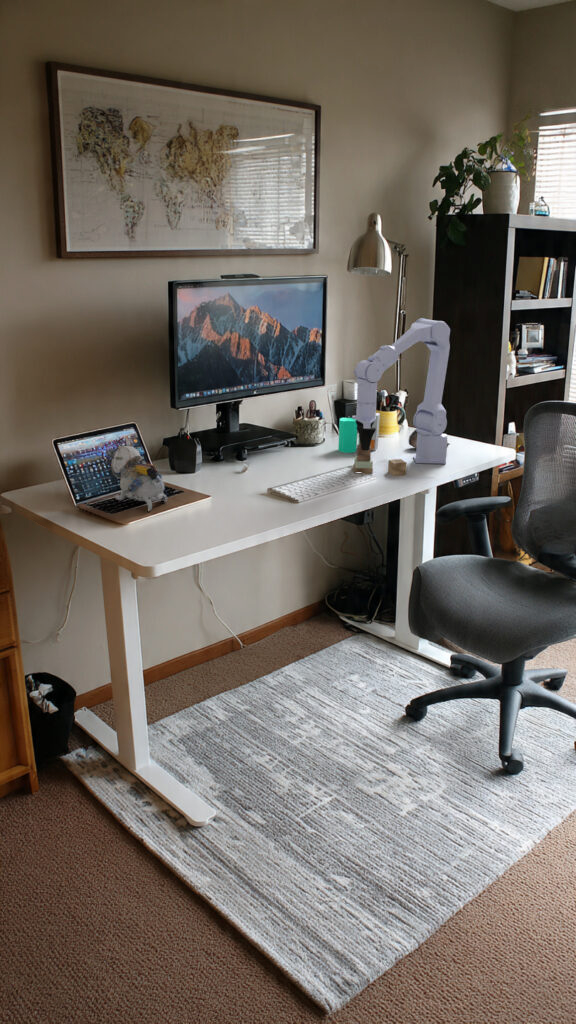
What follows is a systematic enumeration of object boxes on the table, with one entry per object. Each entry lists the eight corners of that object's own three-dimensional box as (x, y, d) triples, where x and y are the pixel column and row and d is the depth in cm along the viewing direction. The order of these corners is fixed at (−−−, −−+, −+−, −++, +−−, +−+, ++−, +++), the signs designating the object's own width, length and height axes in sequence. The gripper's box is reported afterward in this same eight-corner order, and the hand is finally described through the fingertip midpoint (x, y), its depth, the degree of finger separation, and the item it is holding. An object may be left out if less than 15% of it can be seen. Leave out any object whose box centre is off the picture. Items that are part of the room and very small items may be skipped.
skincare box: (357, 449, 278) (359, 413, 274) (360, 446, 282) (362, 411, 278) (375, 451, 276) (377, 415, 272) (378, 448, 280) (380, 412, 276)
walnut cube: (370, 457, 254) (370, 444, 253) (370, 460, 251) (370, 447, 249) (356, 457, 255) (357, 444, 253) (356, 460, 251) (357, 447, 250)
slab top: (370, 463, 256) (370, 457, 255) (372, 468, 251) (372, 461, 250) (354, 463, 256) (354, 457, 255) (355, 468, 251) (356, 461, 250)
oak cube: (399, 471, 254) (400, 459, 252) (405, 475, 250) (406, 462, 249) (387, 472, 253) (388, 459, 251) (393, 476, 249) (394, 463, 248)
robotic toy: (134, 491, 230) (132, 438, 225) (178, 504, 220) (177, 449, 215) (97, 501, 221) (94, 446, 216) (141, 516, 210) (139, 458, 205)
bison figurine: (406, 448, 282) (413, 454, 272) (408, 427, 280) (414, 433, 271) (441, 448, 283) (449, 454, 273) (443, 428, 281) (451, 433, 271)
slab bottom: (371, 470, 256) (371, 463, 256) (372, 475, 251) (372, 468, 250) (353, 469, 256) (353, 463, 256) (354, 474, 251) (354, 468, 251)
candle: (356, 453, 273) (358, 416, 270) (338, 452, 273) (340, 416, 270) (355, 448, 279) (357, 413, 275) (337, 448, 279) (339, 412, 275)
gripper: (352, 396, 254) (350, 440, 258) (353, 406, 240) (352, 452, 244) (375, 397, 253) (373, 441, 258) (378, 407, 240) (376, 453, 244)
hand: (364, 446), depth 251 cm, fingers open, 7 cm apart
